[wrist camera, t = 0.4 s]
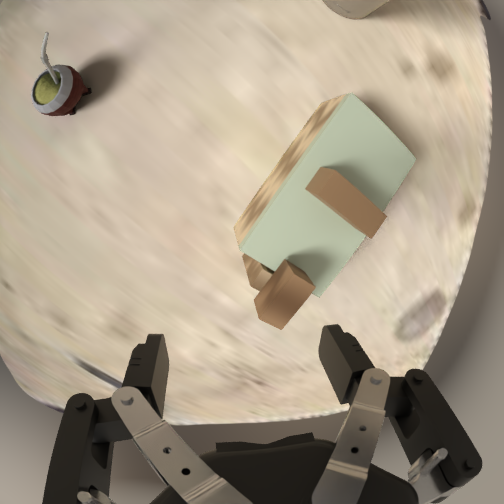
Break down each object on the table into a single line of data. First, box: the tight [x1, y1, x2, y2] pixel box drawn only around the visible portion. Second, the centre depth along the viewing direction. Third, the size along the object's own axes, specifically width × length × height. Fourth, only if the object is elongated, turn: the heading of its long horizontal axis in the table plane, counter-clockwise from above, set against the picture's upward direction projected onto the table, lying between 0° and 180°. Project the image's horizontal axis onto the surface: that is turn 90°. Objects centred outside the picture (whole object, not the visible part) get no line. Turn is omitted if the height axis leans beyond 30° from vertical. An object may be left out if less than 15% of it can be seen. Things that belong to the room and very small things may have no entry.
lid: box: [239, 93, 416, 298], centre depth 29 cm, size 22×12×6 cm, turn 146°
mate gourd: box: [31, 32, 91, 116], centre depth 22 cm, size 8×8×15 cm
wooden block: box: [254, 259, 316, 330], centre depth 30 cm, size 6×3×4 cm, turn 146°
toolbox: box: [234, 95, 345, 291], centre depth 35 cm, size 25×12×10 cm, turn 146°
